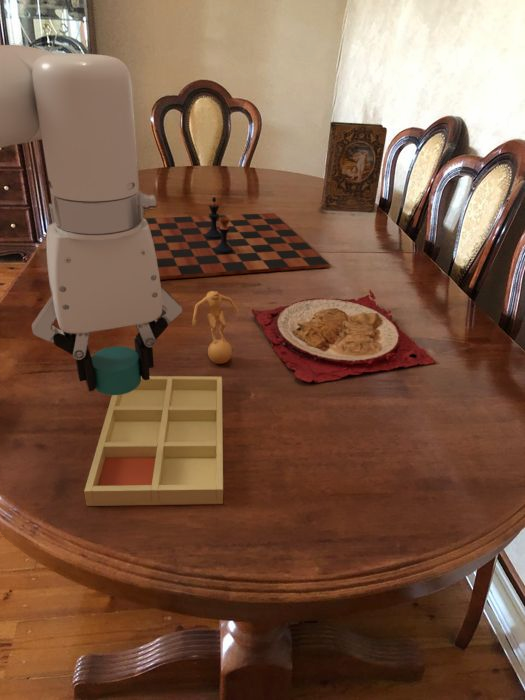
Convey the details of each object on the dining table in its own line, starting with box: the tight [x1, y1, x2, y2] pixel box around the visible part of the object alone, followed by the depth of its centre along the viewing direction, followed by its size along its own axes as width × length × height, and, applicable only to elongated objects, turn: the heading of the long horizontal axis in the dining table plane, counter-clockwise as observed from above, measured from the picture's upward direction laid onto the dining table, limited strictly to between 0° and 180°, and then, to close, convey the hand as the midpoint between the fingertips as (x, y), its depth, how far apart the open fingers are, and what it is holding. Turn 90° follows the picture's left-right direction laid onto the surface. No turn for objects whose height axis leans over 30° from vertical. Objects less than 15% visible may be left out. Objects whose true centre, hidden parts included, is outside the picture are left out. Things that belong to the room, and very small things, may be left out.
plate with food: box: [251, 289, 437, 384], centre depth 94 cm, size 24×26×4 cm
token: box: [91, 345, 141, 396], centre depth 56 cm, size 5×5×3 cm
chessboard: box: [143, 197, 330, 281], centre depth 131 cm, size 40×40×11 cm
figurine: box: [191, 290, 241, 365], centre depth 84 cm, size 8×6×12 cm
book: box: [320, 121, 388, 213], centre depth 161 cm, size 16×6×25 cm, turn 92°
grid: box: [83, 375, 224, 507], centre depth 69 cm, size 15×23×2 cm
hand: (117, 377), depth 56 cm, fingers closed on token, 5 cm apart
